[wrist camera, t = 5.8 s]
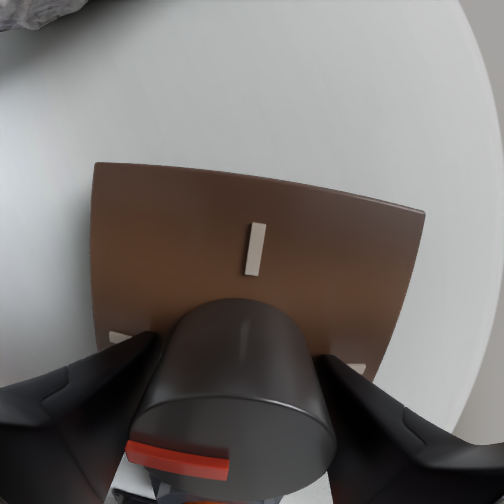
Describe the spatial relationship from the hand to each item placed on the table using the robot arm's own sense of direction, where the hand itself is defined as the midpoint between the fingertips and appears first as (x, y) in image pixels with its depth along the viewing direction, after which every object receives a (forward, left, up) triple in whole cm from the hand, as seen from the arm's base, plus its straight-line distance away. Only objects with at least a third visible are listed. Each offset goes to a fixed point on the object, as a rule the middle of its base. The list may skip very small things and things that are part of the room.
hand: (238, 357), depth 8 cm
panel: (0, 0, -3) cm, 3 cm away
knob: (0, 0, 0) cm, 0 cm away
